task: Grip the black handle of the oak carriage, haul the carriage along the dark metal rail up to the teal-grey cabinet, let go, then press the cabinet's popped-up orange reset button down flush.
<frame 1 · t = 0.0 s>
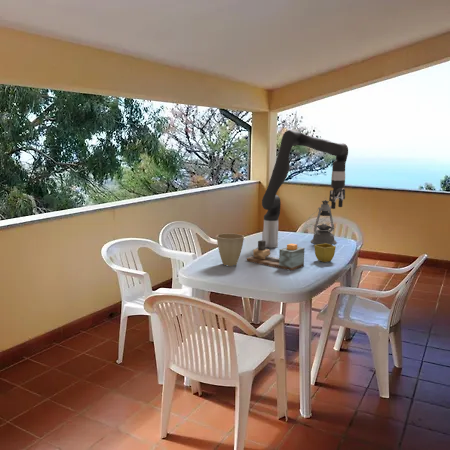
hand: (336, 207, 262), 29 cm above the table, tool pointing down, fingers open, 8 cm apart
lantern: (321, 242, 310), on the table
rail rig: (274, 263, 255), on the table
flower pot: (324, 261, 261), on the table
plant pot: (230, 264, 252), on the table
reset button: (292, 247, 246), point 11 cm above the table, slide at 2.0 cm
carriage: (261, 249, 259), point 7 cm above the table, slide at 0.0 cm
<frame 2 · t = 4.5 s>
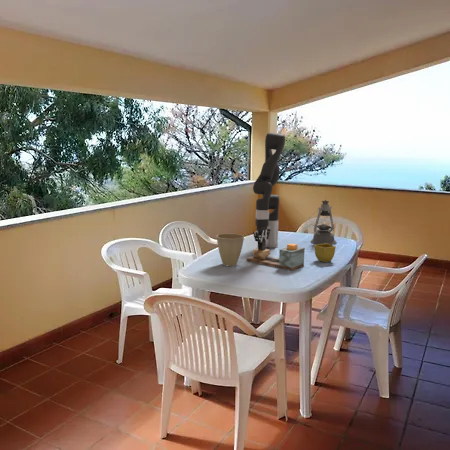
hand: (261, 247, 259), 7 cm above the table, tool pointing down, fingers closed on carriage, 3 cm apart
carriage: (261, 249, 259), point 7 cm above the table, slide at 0.0 cm, touching gripper
everything else where it was.
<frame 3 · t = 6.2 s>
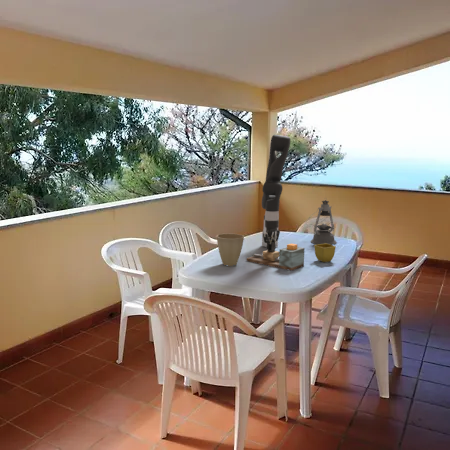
hand: (271, 249, 255), 7 cm above the table, tool pointing down, fingers closed on carriage, 3 cm apart
carriage: (271, 251, 255), point 7 cm above the table, slide at 6.5 cm, touching gripper
everything else where it was.
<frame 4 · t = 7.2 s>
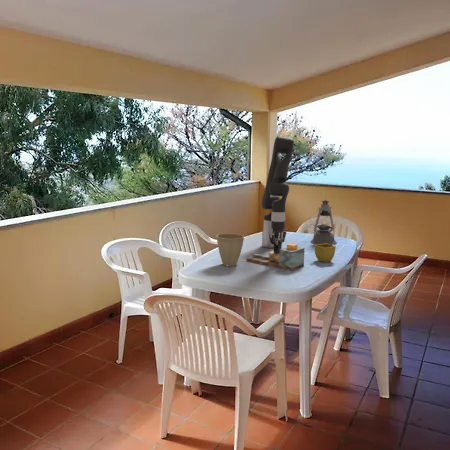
hand: (277, 250, 252), 7 cm above the table, tool pointing down, fingers closed on carriage, 3 cm apart
carriage: (277, 252, 253), point 7 cm above the table, slide at 10.7 cm, touching gripper
everything else where it was.
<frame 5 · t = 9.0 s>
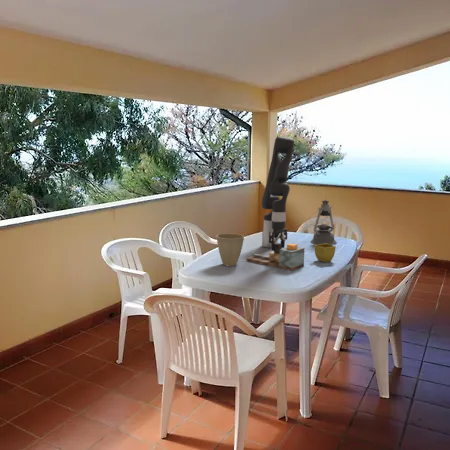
hand: (278, 249, 252), 8 cm above the table, tool pointing down, fingers open, 8 cm apart
carriage: (277, 252, 252), point 7 cm above the table, slide at 10.9 cm
everything else where it was.
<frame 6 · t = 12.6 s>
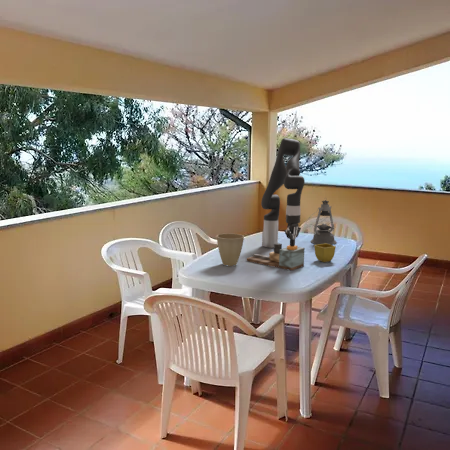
hand: (292, 245, 246), 12 cm above the table, tool pointing down, fingers closed
reset button: (292, 248, 246), point 10 cm above the table, slide at 1.3 cm, touching gripper
everything else where it was.
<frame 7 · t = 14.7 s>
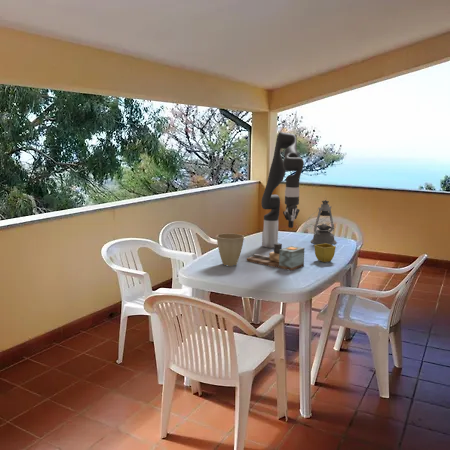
hand: (290, 227, 247), 21 cm above the table, tool pointing down, fingers closed
reset button: (292, 251, 246), point 9 cm above the table, slide at 0.0 cm
everything else where it was.
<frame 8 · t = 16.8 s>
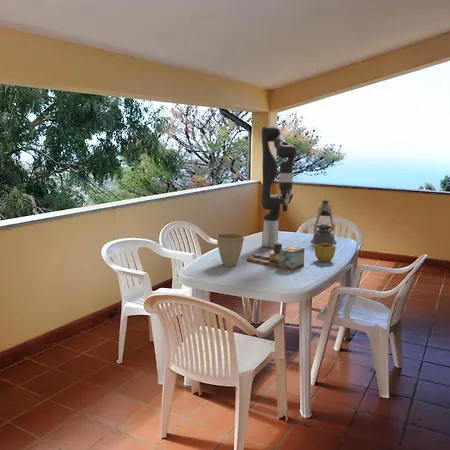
hand: (284, 211, 264), 27 cm above the table, tool pointing down, fingers closed
nothing on the table moved.
at the end: carriage slide at 10.9 cm; reset button slide at 0.0 cm; the gripper is holding nothing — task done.
